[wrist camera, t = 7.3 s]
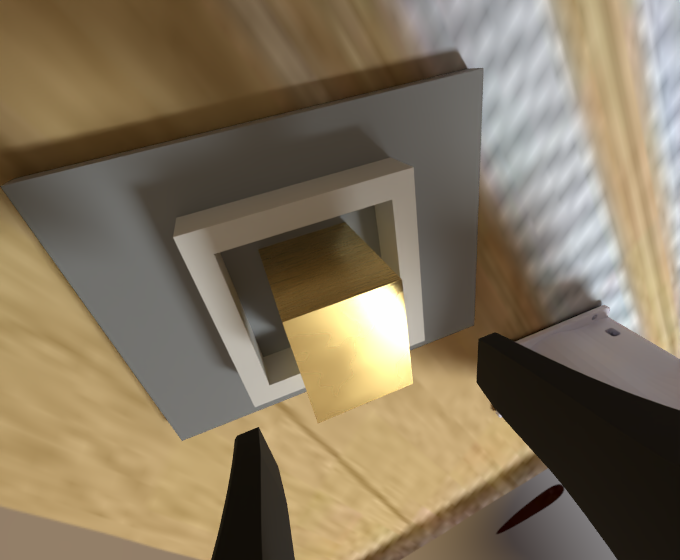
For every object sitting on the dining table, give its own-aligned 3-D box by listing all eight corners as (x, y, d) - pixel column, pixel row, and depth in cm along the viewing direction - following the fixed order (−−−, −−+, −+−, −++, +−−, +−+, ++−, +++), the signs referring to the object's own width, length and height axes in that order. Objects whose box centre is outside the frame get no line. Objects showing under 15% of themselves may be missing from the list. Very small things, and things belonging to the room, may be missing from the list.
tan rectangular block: (344, 221, 16) (402, 279, 11) (361, 309, 19) (412, 383, 14) (258, 249, 15) (282, 322, 11) (288, 335, 18) (318, 423, 13)
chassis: (468, 68, 16) (519, 67, 13) (464, 316, 23) (496, 345, 21) (13, 178, 12) (-34, 204, 10) (182, 425, 20) (180, 475, 17)
